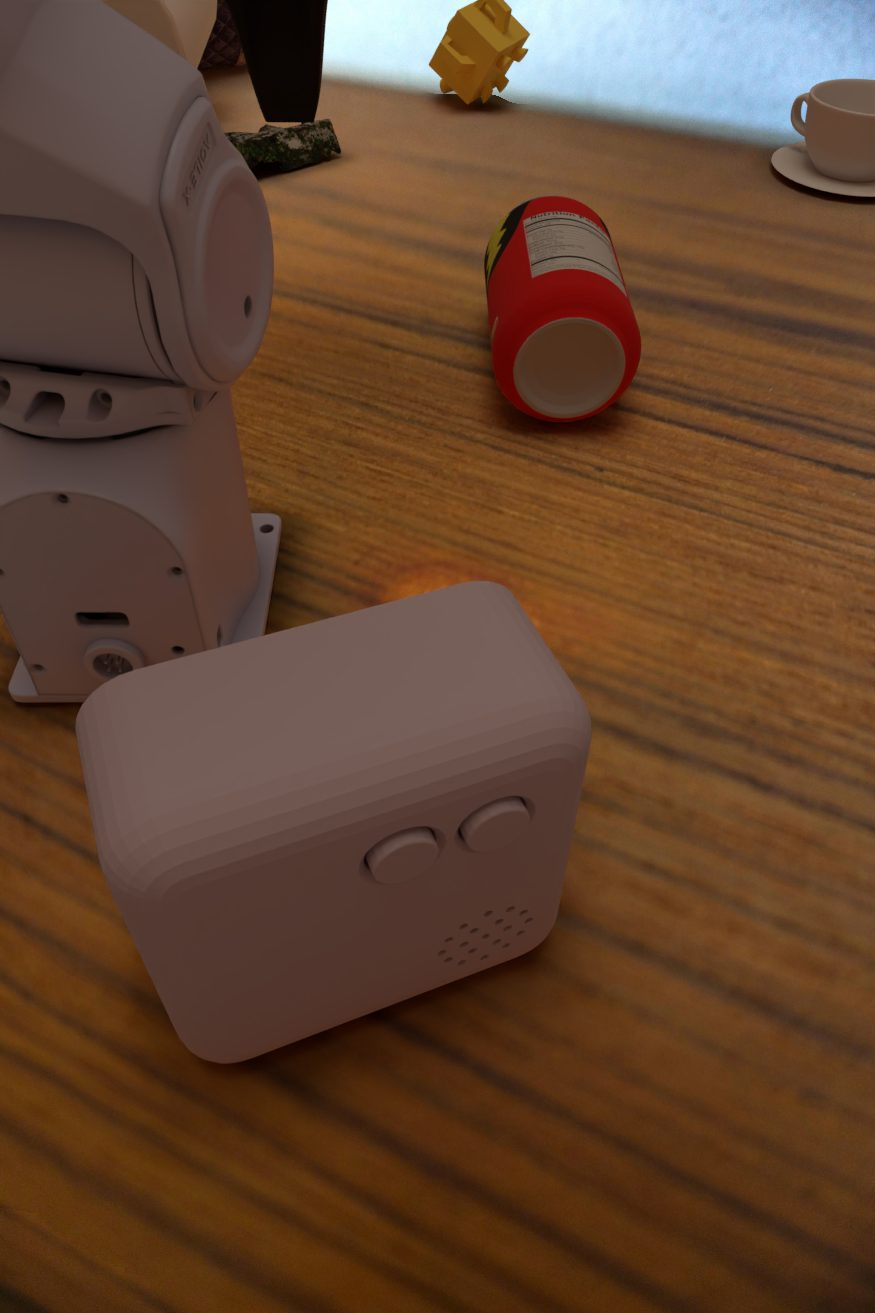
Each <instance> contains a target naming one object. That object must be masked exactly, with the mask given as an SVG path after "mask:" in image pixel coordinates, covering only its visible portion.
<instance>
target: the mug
mask: <svg viewBox="0 0 875 1313" xmlns="http://www.w3.org/2000/svg"><path fill="white" fill-rule="evenodd" d="M245 65H246V61H245V58H244V54H243V51H242V48H241V45H240V41H239V38H238V35H237V32H236V29H235V26H234V23H233V21H232V18H231V15H230V13H229V10H228V8H227V5H226V3H225V1H224V0H217V13H216V20H215V23H214V26H213V28H212V31H211V34H210V36H209V39H208V42H207V44H206V47H205V49H204V52H203V55H202V57H201V60H200V63H199V65H198V68H197V70H198V71H199V72H203V71H210V70H216V69H221V68H225V67H226V68H233V67H241V66H245Z"/></svg>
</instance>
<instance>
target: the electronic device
mask: <svg viewBox="0 0 875 1313" xmlns="http://www.w3.org/2000/svg"><path fill="white" fill-rule="evenodd" d="M74 730H75V736H76V742H77V747H78V750H79V757H80V762H81V768H82V769H81V770H82V773H83V779H84V784H85V785H84V786H85V790H86V791H85V792H86V796H87V801H88V806H89V811H90V812H89V813H90V817H91V823H92V828H93V834H94V839H95V845H96V851H97V855H98V856H97V857H98V861H99V866H100V869H101V872H102V874H103V877H104V880H105V883H106V885H107V887H108V890H109V891H110V894H111V895H112V898H113V900H114V902H115V904H116V906H117V909H118V911H119V913H120V915H121V917H122V920H123V922H124V924H125V925H126V926H125V927H127V930H128V932H129V934H130V936H131V939H132V941H133V943H134V945H135V948H136V949H137V952H138V954H139V955H140V958H141V960H142V962H143V964H144V966H145V969H146V970H147V973H148V975H149V977H150V979H151V981H152V983H153V985H154V988H155V990H156V992H157V994H158V997H159V998H160V1001H161V1003H162V1006H163V1007H164V1009H165V1011H166V1013H167V1015H168V1018H169V1020H170V1022H171V1024H172V1027H173V1028H174V1031H175V1032H176V1035H177V1037H178V1039H179V1040H180V1041H181V1042H182V1044H183V1045H184V1047H185V1048H187V1050H188V1051H189V1052H190V1053H191V1054H194V1055H195V1056H197V1058H200V1059H202V1060H204V1061H207V1062H211V1063H217V1064H221V1065H222V1064H226V1065H227V1064H237V1063H240V1062H244V1061H247V1060H250V1059H254V1058H257V1057H259V1056H262V1055H265V1054H266V1053H269V1052H272V1051H275V1050H277V1049H280V1048H282V1047H285V1046H287V1045H290V1044H292V1043H295V1042H298V1041H301V1040H304V1039H307V1038H308V1037H311V1036H313V1035H316V1034H319V1033H321V1032H324V1031H327V1030H330V1029H332V1028H335V1027H337V1026H340V1025H343V1024H345V1023H348V1022H350V1021H354V1020H356V1019H359V1018H361V1017H364V1016H367V1015H369V1014H371V1013H374V1012H376V1011H379V1010H382V1009H385V1008H388V1007H389V1006H392V1005H393V1006H394V1005H395V1004H397V1003H400V1002H403V1001H405V1000H408V999H410V998H413V997H417V996H419V995H421V994H424V993H427V992H429V991H432V990H435V989H437V988H439V987H443V986H445V985H447V984H450V983H453V982H455V981H458V980H460V979H464V978H467V977H468V976H471V975H473V974H477V973H480V972H481V971H484V970H487V969H490V968H492V967H494V966H495V967H496V966H498V965H500V964H502V963H505V962H508V961H510V960H513V959H516V958H518V957H520V956H522V955H525V954H526V953H529V952H530V951H532V950H533V949H535V948H537V947H538V946H539V945H540V944H541V943H542V942H544V940H546V938H547V937H548V936H549V934H550V933H551V931H552V930H553V928H554V925H556V924H555V923H556V921H557V919H558V913H559V909H560V903H561V898H562V893H563V889H564V882H565V877H566V872H567V869H568V868H567V867H568V863H569V856H570V852H571V847H572V841H573V838H574V832H575V831H574V830H575V826H576V821H577V816H578V810H579V806H580V801H581V795H582V791H583V785H584V780H585V775H586V770H587V765H588V759H589V754H590V749H591V744H592V738H593V737H592V735H593V734H592V733H593V728H592V719H591V715H590V712H589V709H588V707H587V705H586V703H585V700H584V698H583V696H582V695H581V694H580V692H579V691H578V689H577V687H576V686H575V684H574V683H573V682H572V680H571V679H570V677H569V676H568V674H567V673H566V671H565V669H564V668H563V667H562V665H561V664H560V662H559V661H558V659H557V657H556V656H555V654H554V653H553V651H552V650H551V649H550V647H549V646H548V643H546V641H545V639H544V638H543V636H542V635H541V633H540V632H539V630H538V629H537V627H536V625H534V623H533V621H532V620H531V619H530V617H529V615H528V614H527V612H526V611H525V610H524V608H523V606H522V604H521V603H520V602H519V600H518V599H517V597H516V596H515V595H514V594H513V592H512V591H511V590H510V589H509V588H507V587H506V586H504V585H502V584H500V583H497V582H494V581H490V580H471V581H466V582H460V583H457V584H452V585H448V586H445V587H441V588H438V589H434V590H431V591H426V592H423V593H422V592H421V593H419V594H415V595H411V596H407V597H404V598H400V599H396V600H392V601H389V602H384V603H381V604H377V605H373V606H370V607H366V608H362V609H358V610H354V611H352V612H347V613H343V614H340V615H336V616H333V617H328V618H325V619H321V620H317V621H314V622H310V623H306V624H303V625H298V626H295V627H290V628H287V629H283V630H280V631H276V632H272V633H268V634H265V635H264V636H260V637H257V638H253V639H249V640H245V641H242V642H238V643H234V644H230V645H227V646H223V647H219V648H215V649H212V650H208V651H204V652H200V653H197V654H193V655H189V656H185V657H181V658H178V659H174V660H170V661H166V662H163V663H159V664H155V665H151V666H148V667H144V668H140V669H136V670H133V671H130V672H128V673H125V674H122V675H119V676H117V677H115V678H113V679H111V680H110V681H108V682H106V683H104V684H103V685H101V686H100V687H99V688H98V689H96V690H95V691H94V692H93V693H91V695H90V696H89V697H88V698H87V699H86V701H85V702H82V704H81V706H80V709H79V710H78V713H77V715H76V718H75V724H74Z"/></svg>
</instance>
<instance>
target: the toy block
mask: <svg viewBox="0 0 875 1313" xmlns="http://www.w3.org/2000/svg"><path fill="white" fill-rule="evenodd" d="M512 12H513V9H512V7H511V6H510V5H509V4H508V3H507V2H506V0H475V1H473V2H471V3H469V4H467V5H465V6H463V7H461V8H458V10H456V13H455V14H454V15H453V16H452V17H451V18H450V20H449V21H448V23H447V26H446V30H445V32H444V34H443V36H442V38H441V40H440V41H439V43H438V45H437V47H436V49H435V51H434V53H433V55H432V57H431V59H430V61H429V63H428V67H430V68H431V70H433V72H434V73H435V74H436V75H437V76H439V77H440V80H439V89H440V91H441V93H442V94H443V95H444V94H448V93H451V92H454V93H455V94H456V95H457V96H458V97H459V98H460V99H461V100H462V101H463V102H464V103H465V104H466V105H470V104H471V103H473V102H474V101H476V100H478V99H479V98H480V97H481V100H482V104H485V103H486V102H487V101H488V100H489V99H490V98H491V96H492V94H493V93H494V89H495V88H496V89H497V91H498V93H499V94H500V93H502V92H503V91H504V90H505V89H506V87H507V86H508V84H509V82H510V79H509V78H508V77H507V76H506V75H507V73H508V71H510V69H511V67H512V65H513V63H514V62H517V63H521V62H522V60H524V58H525V57H526V56H527V54H528V52H529V48H526V47H525V48H524V45H525V44H526V42H527V41H528V39H529V37H530V36H531V33H530V32H529V31H528V30H527V29H526V28H525V26H523V25H522V24H521V23H520V21H519V20H518V19H516V17H515V16H514V15H513V14H512Z"/></svg>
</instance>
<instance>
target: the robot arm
mask: <svg viewBox="0 0 875 1313" xmlns="http://www.w3.org/2000/svg"><path fill="white" fill-rule="evenodd" d="M224 1H225V3H226V5H227V8H228V10H229V13H230V15H231V18H232V21H233V23H234V26H235V29H236V32H237V35H238V38H239V41H240V45H241V48H242V51H243V54H244V58H245V61H246V64H245V65H246V68H247V71H248V75H249V79H250V81H251V84H252V88H253V91H254V96H255V98H256V101H257V104H258V106H259V109H260V111H261V114H262V116H263V118H264V121H265V122H266V123H288V124H289V123H295V124H297V123H299V124H301V123H311V122H314V121H316V120H315V119H316V116H317V112H318V106H319V101H320V95H321V88H322V80H323V68H324V55H325V54H324V52H325V39H326V24H327V12H328V3H329V0H224ZM268 208H269V207H268V205H267V200H266V197H265V195H264V192H263V189H262V188H261V185H260V183H259V181H258V179H257V177H256V176H255V175H254V173H253V171H252V170H250V169H249V167H248V165H247V163H246V161H245V160H244V158H243V156H242V155H241V153H240V152H239V151H238V150H237V149H236V148H235V146H234V145H233V144H232V143H231V142H230V141H229V140H228V138H227V137H226V135H225V133H224V129H223V127H222V125H221V123H220V120H219V118H218V115H217V113H216V110H215V108H214V106H213V104H212V101H211V97H210V94H209V92H208V88H207V86H206V82H205V79H204V76H203V74H202V72H201V71H198V70H197V69H196V68H195V67H194V66H193V65H192V64H191V63H190V62H188V61H187V60H185V59H184V58H183V57H181V56H180V55H179V54H177V53H176V52H174V51H173V50H172V49H170V48H169V47H168V46H166V45H165V44H163V43H162V42H161V41H159V40H158V39H157V38H155V37H154V36H152V35H151V34H149V33H148V32H146V31H145V30H143V29H142V28H140V27H139V26H137V25H136V24H135V23H133V22H132V21H130V20H129V19H127V18H126V17H124V16H123V15H121V14H120V13H118V12H117V11H115V10H114V9H112V8H111V7H109V6H108V5H106V4H105V3H104V2H102V1H101V0H0V613H1V615H2V617H3V620H4V622H5V624H6V627H7V628H8V632H9V634H10V635H11V637H12V640H13V642H14V645H15V646H16V649H17V651H18V653H19V655H20V656H19V659H18V660H17V663H16V666H15V668H14V671H13V672H12V676H11V677H10V680H9V683H8V686H7V690H8V693H9V694H10V697H11V698H12V700H14V701H15V702H16V703H17V702H18V703H84V702H85V701H86V699H87V698H88V697H89V696H90V695H91V693H93V692H94V691H95V690H96V689H98V688H99V687H100V686H101V685H103V684H104V683H106V682H108V681H110V680H111V679H113V678H115V677H117V676H119V675H122V674H125V673H128V672H130V671H133V670H136V669H140V668H144V667H148V666H151V665H155V664H159V663H163V662H166V661H170V660H174V659H178V658H181V657H185V656H189V655H193V654H197V653H200V652H204V651H208V650H212V649H215V648H219V647H223V646H227V645H230V644H234V643H238V642H242V641H245V640H249V639H253V638H257V637H260V636H264V635H266V627H267V623H268V616H269V610H270V605H271V598H272V592H273V585H274V579H275V574H276V567H277V561H278V555H279V549H280V543H281V537H282V531H283V524H282V518H281V517H280V516H279V515H277V514H276V513H271V512H266V513H265V512H261V513H260V512H253V513H252V509H251V503H250V497H249V491H248V485H247V481H246V474H245V468H244V463H243V462H244V461H243V456H242V451H241V445H240V439H239V431H238V427H237V426H238V425H237V420H236V415H235V410H234V403H233V396H232V392H231V390H232V389H231V387H232V386H234V384H236V382H237V381H239V379H240V378H241V376H242V375H243V374H244V372H245V371H246V370H247V369H248V368H249V367H250V366H251V365H252V363H253V362H254V360H255V359H256V357H257V355H258V353H259V352H260V349H261V347H262V344H263V341H264V338H265V335H266V333H267V328H268V324H269V319H270V313H271V309H272V308H271V307H272V301H273V294H274V293H273V292H274V291H273V290H274V278H275V275H274V274H275V256H274V254H275V253H274V239H273V238H274V237H273V231H272V223H271V218H270V212H269V209H268Z"/></svg>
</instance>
